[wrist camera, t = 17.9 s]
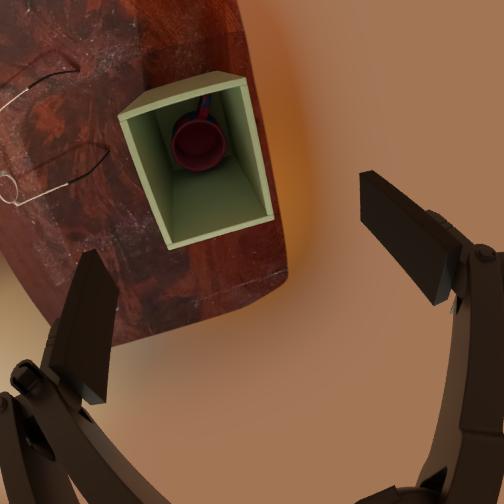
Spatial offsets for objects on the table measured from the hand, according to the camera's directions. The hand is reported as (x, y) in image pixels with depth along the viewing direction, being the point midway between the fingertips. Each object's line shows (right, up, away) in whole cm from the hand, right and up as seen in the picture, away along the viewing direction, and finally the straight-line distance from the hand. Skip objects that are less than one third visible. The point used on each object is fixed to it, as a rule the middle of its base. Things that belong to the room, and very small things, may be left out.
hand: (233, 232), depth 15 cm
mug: (-6, +17, +26) cm, 32 cm away
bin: (-7, +17, +27) cm, 32 cm away
